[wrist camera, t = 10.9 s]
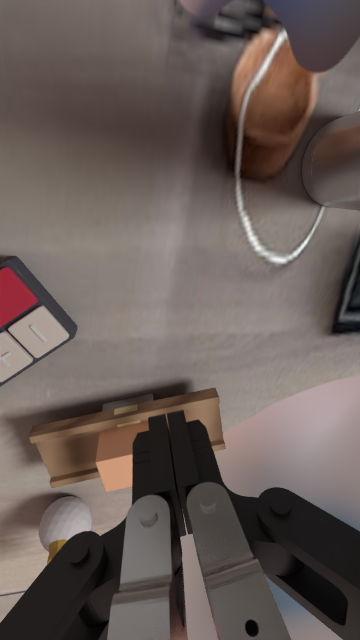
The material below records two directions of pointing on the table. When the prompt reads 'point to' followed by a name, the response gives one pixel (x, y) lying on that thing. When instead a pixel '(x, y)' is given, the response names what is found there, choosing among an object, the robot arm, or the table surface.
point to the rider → (117, 455)
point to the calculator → (28, 320)
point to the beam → (83, 432)
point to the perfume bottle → (63, 523)
